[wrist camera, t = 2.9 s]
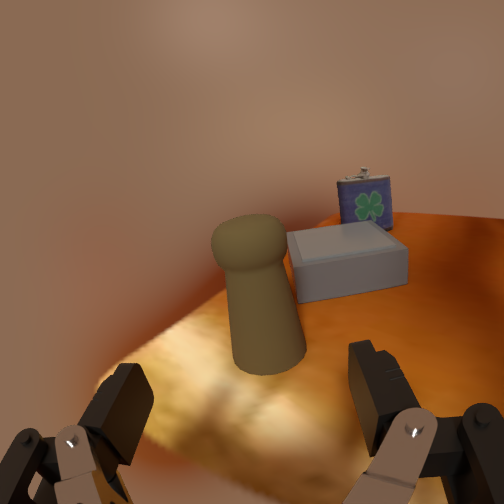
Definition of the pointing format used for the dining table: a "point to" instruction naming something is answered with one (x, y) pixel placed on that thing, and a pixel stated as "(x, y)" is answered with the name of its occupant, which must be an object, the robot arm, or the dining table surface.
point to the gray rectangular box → (345, 260)
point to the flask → (366, 199)
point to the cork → (259, 294)
